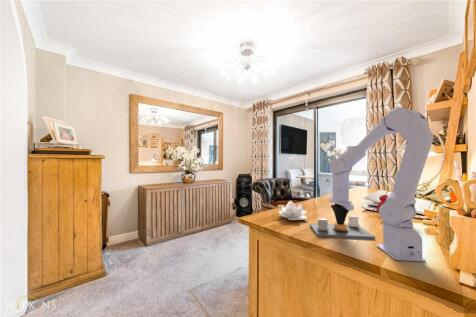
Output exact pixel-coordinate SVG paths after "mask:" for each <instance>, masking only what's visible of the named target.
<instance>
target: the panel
mask: <svg viewBox="0 0 476 317" xmlns="http://www.w3.org/2000/svg"><path fill="white" fill-rule="evenodd" d="M317 226H318V223H309V227H310V229H311V230H312V232H313V233H314V234H315V236H316V237H317V238H330V239H331V238H333V239H335V238H336V239H350V240H351V239H352V240H353V239H354V240H357V239H358V240H376V236H375V235H373V234H372V233H370V232H369V231H368V230H366V229H365V228H363V227H361V226H360V227H350V226H349V225H348V224H347V230H346V231H340V230H337V229H335V228H334V224H328V228H329V231H319V230H318V229H317Z"/></svg>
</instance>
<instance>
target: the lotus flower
mask: <svg viewBox="0 0 476 317" xmlns="http://www.w3.org/2000/svg"><path fill="white" fill-rule="evenodd" d="M277 210H278V212H279V214H278V216H279V217H282V218H287V219H288V220H290V221H297V220H298V221H301V220H307V219H308V217H307V215H305V214H307V211H308V209H305V210H304V205H303V204H302V203H299V204H298V206H297V205H296V204H295V202H293V201H292V200H289V201H288V202H287V204H285V207H284V206H283V205H282V204H281V209H280V208H278V209H277Z"/></svg>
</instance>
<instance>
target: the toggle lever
mask: <svg viewBox="0 0 476 317" xmlns="http://www.w3.org/2000/svg"><path fill="white" fill-rule="evenodd" d="M347 225H349V226H350V227H361V226H360V225H361V224H359V216H358V215H348V222H347Z"/></svg>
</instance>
